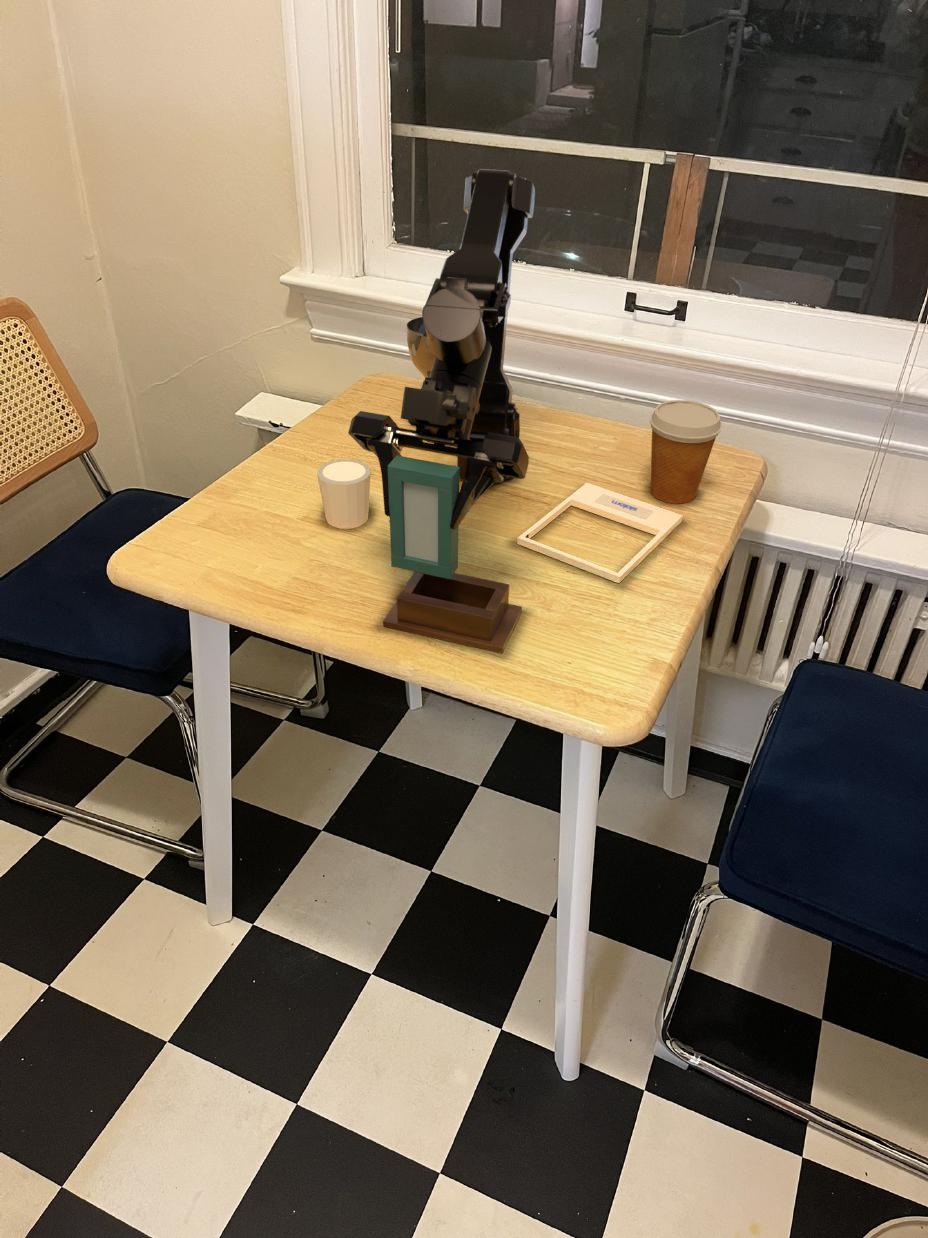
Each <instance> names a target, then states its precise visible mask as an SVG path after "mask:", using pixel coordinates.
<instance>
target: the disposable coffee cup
mask: <svg viewBox="0 0 928 1238" xmlns="http://www.w3.org/2000/svg"><path fill="white" fill-rule="evenodd" d="M649 423H650V427H651V453H650V490H649V491H650V493H651V495H652V496H653V497H654V498H655V499H657V500H659V501H661V502H665V503H669V504H685V503H686V504H687V503H689V502H692V501H693V500H694V499H695V498H696V495H697V493H698V490H699V487H700V484H701V481H702V479H703V475H704V473H705V470H706V467H707V464H708V462H709V459H710V456H711V453H712V450H713V447H714V444H715V441H716V438H717V437H718V435H719V434H720V433H721V431H722V429H723V424H722V422H721V415H720V413H719V412H718V410H717V409H715V408H714V407H712V406H710V405H708V404H705V403H702V402H699V401H695V400H687V399H685V400H684V399H674V400H666V401H664V402H661V403H659V404H658V405H656V407H655V408H654V411H653V412H652V413H651V415H650V416H649Z"/></svg>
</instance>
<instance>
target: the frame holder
mask: <svg viewBox="0 0 928 1238" xmlns="http://www.w3.org/2000/svg"><path fill="white" fill-rule="evenodd" d="M509 599H510V584H509V583H506V582H501V581H495V580H492V579H486V578H481V577H476V576H471V575H467V574H461V573H458V572H455V573H454V575H453V576H452V578H451V579H447V578H442V577H437V576H433V575H428V574H423V573H419V572H414V571H413V573H412V575H410V577H409V579H408V581H407V582H406V583H405V585H404V587H403V588H402V589H401V591H400V592H399V594H398V596H397V597H396V600H395V602H394V604H393V606H392V607H391V609H390V610H389V612H388V613H387V614H386V616H385V618H384V619H383V621H382V625H383V627H384V628H389V629H393V630H397V631H401V632H407V633H411V634H415V635H419V636H424V637H428V638H433V639H437V640H442V641H446V642H450V643H455V644H459V645H464V646H467V647H471V648H472V647H473V648H476V649H480V650H486V651H491V652H495V653H499V654H503V653H504V650H505V648H506V646H507V644H508V641H509V639H510V638H511V636H512V633H513V631H514V629H515V627H516V625H517V623H518V620H519V619H520V616H521V614H522V612H523V607H522V606H521V605H516V604H511V603H509Z"/></svg>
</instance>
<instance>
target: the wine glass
mask: <svg viewBox="0 0 928 1238" xmlns="http://www.w3.org/2000/svg"><path fill="white" fill-rule="evenodd" d="M406 340H407V348H408V353H409V357H410V360H411V362H412V364H413V366H414V367H415V369H417V370H418V372H419V373H420V374H421V375H422V376H423V377H424V378H425V377H427V378H429V376H430V373H431V369H432V365H433V361H434V357H435V355H434V354H433V352H432V349H431V345H430V342H429V339H428V336H427V333H426V330H425V327H424V323H423V320H422V316H420V317H416V318H413V319H410V320H409V321H408V322H407V323H406Z"/></svg>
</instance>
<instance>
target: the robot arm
mask: <svg viewBox="0 0 928 1238" xmlns="http://www.w3.org/2000/svg"><path fill="white" fill-rule="evenodd" d="M464 182H465V185H464V197H463V212H465V213H466V215H467V217H466V220H465V225H464V229H463V233H462V238H461V242H460V245H459V249H457V250H456V251H455V252H453V253H452V254H451V255H449V256H447V257H446V258H445V260H444V263H443V266H442V269H441V272H440V276H439V278H438V277H437V278H436V277H435V279H434V281H433V285H432V287H431V290H430V291H429V294H428V297H427V299H426V302H425V304H424V305H423V307H422V311H421V317H422V320H423V323H424V327H425V330H426V333H427V336H428V339H429V342H430V345H431V349H432V352H433V354H434V355H435V357H434V361H433V365H432V369H431V373H430V376H429V378H427V377H424V380H423V381H422V385H421V387H420V388H416V387H410V386H404V389H403V395H402V396H403V397H402V406H401V413H400V419H402V420H407V421H408V423H409V424H410V426H413V427H415V430H414V429H408V428H402V427H399V426H398V425H397V423H396V422H395V421H394V420H393V418H392V417H391V416H390V415H388V414H387V415H386V414H381V413H375V412H369V411H365V410H360V411H358V412H357V413H356V414H355V415H354V416H353V417H352V418H351V421H350V425H349V428H348V432H347V433H348V435H349V436H350V438H352V439H353V440H354V441H355V442H356V443H357V444H358V445H359V446H360V448H361V449H363V450H365V451H367V452H369V453H373V454H374V455H375V456H376V458H377V459H378V463H379V469H380V472H381V481H382V482H381V483H382V485H381V486H382V497H383V510H384V515H385V516H386V517H389V518H390V509H389V488H388V465H389V464H390V463H391V461H392V460H393V459H394V458H395V457H396V456H397V455H398V456H402V454H401V452H402V451H403V448H407V449H413V450H419V451H425V452H430V453H435V454H442V455H448V456H452V457H457V460H456V461H457V465H456V466H458V467H460V479H462V480H463V481H462V483H461V485H460V488H459V495H458V498H457V501H456V504H455V507H454V510H453V513H452V518H451V522H450V528H451V529H454V530H455V529H456V528H457V527H458V525H459V526H460V524H461V523H462V522H463V520H464V519H465V517H466V516H467V515H468V513H469V512H470V511H471V509H472V508H473V507H474V505H475V504H476V503H477V501H478V500H479V499H480V498H481V497H482V496H483V495H484V494H485V493H486V492H487V491H488V490H489V489H490V487H493V486H495V485H498V484H502V483H505V482H507V481H511V480H513V479H518V480H523V479H526V476H527V472H528V468H529V463H530V462H529V461H530V460H529V459H530V456H529V454H528V452H527V449H526V448H525V445H524V443H523V442H522V440H521V439H520V437H521V436H520V433H521V415H520V413H519V412H518V408H517V403H516V402H513V391H514V390H513V388H512V385H511V384H510V381H509V379H508V377H507V374H506V372H505V370H504V362H505V351H506V338H507V326H508V325H507V324H508V314H509V310H510V307H511V301H512V294H511V293H510V291H511V279H512V267H513V257H514V252H515V251H516V250H517V248H518V247H519V245H520V243H521V242H522V241H523V239H524V237H525V236H526V235H527V231H528V222H529V219H532V218H533V217H534V210H535V198H536V188H535V185H534V182H533V181H531V180H529V179H527V178H526V177H519V176H518V175H517V173H514V172H511V170H505V169H486V168H479V169H478V170H473V171H472V175H470V176H467V177H465V181H464Z"/></svg>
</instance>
